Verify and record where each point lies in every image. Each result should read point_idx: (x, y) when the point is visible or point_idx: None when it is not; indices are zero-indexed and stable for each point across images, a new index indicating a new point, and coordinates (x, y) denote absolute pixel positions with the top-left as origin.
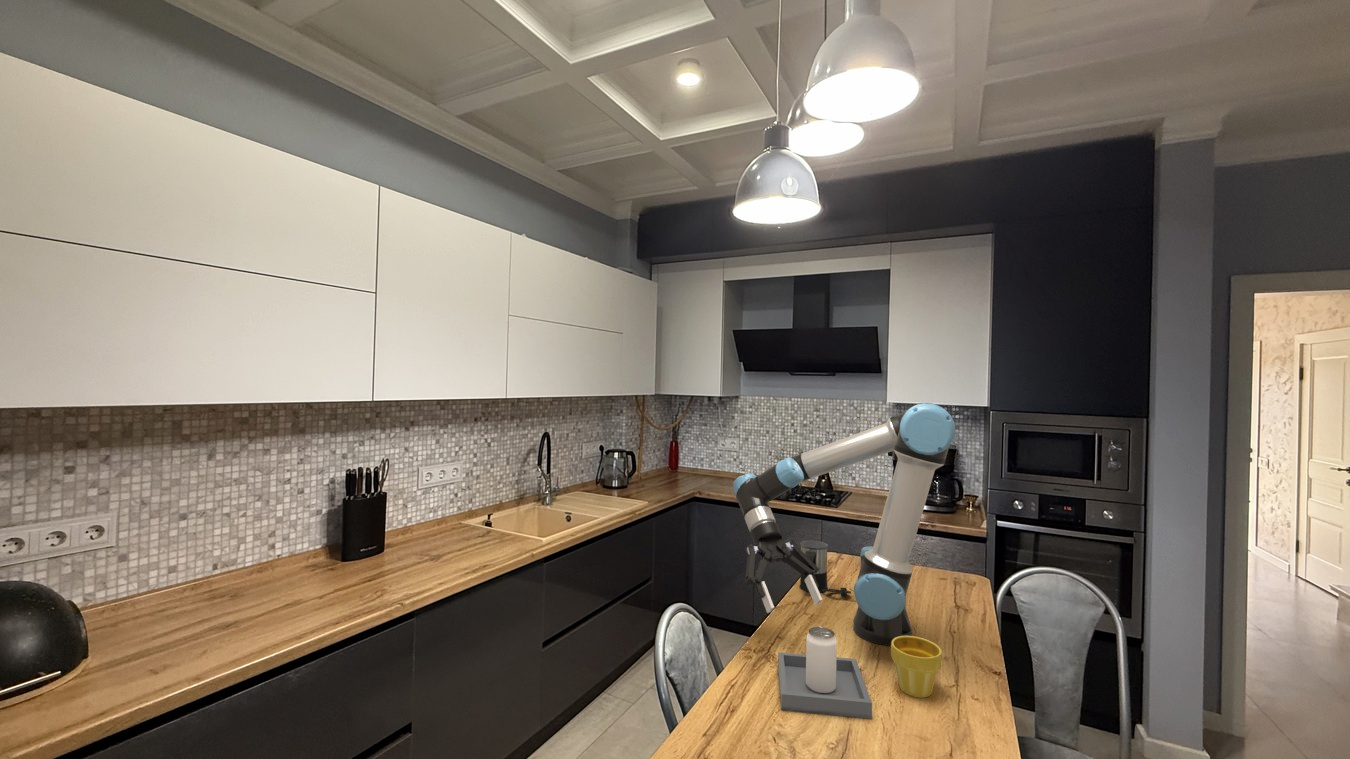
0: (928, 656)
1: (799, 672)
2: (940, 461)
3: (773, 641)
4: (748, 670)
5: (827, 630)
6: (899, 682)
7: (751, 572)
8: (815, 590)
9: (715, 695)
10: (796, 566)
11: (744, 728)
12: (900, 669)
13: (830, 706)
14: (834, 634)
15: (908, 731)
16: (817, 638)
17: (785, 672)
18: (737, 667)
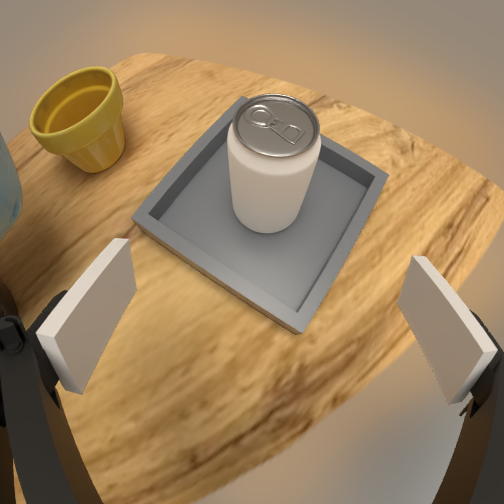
0: (51, 123)
1: (274, 270)
2: None
3: (224, 449)
4: (374, 342)
5: (240, 132)
6: (117, 150)
7: None
8: (106, 268)
9: (462, 277)
10: (74, 465)
11: (443, 182)
12: (118, 120)
13: None
14: (246, 100)
15: (214, 85)
16: (308, 111)
17: (308, 284)
18: (389, 363)
